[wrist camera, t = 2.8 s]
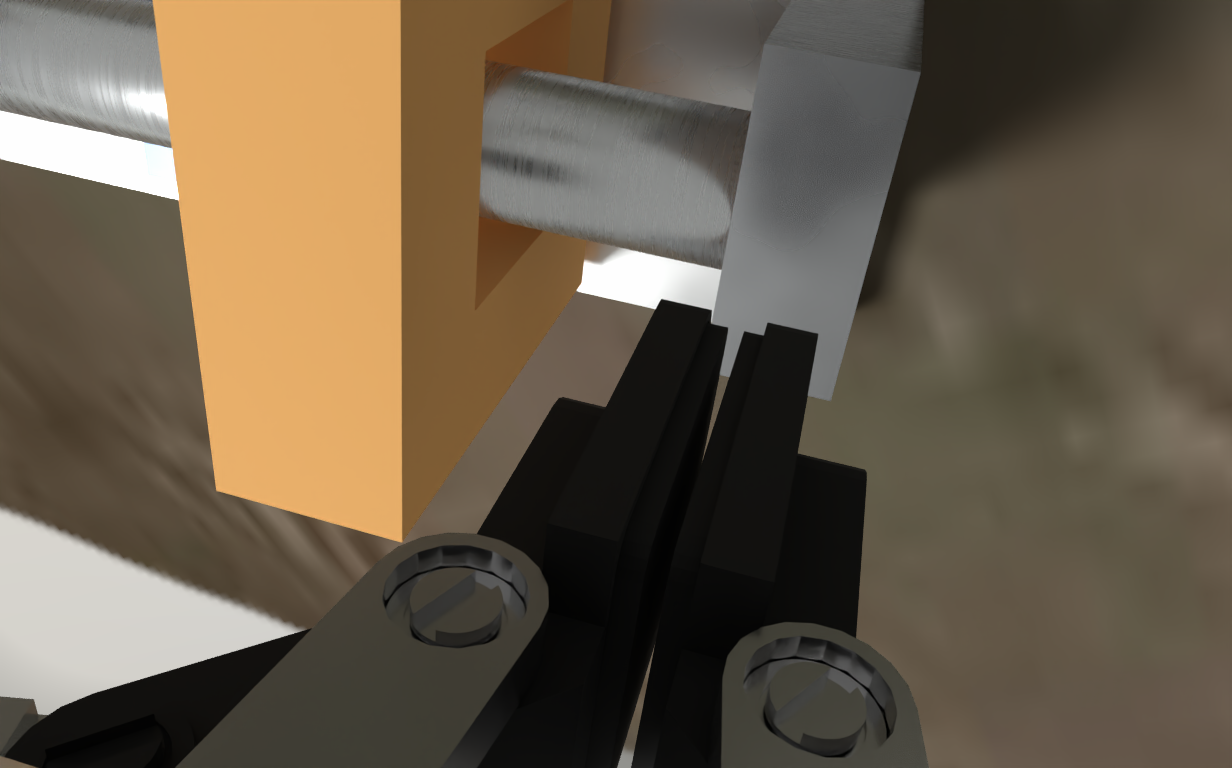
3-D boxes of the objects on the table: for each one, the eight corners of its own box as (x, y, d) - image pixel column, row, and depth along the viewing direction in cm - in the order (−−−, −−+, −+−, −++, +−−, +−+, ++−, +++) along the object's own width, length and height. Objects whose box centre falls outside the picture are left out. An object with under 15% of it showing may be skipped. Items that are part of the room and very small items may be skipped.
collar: (631, -188, 17) (400, -156, 10) (582, 282, 22) (401, 542, 15) (466, -212, 18) (126, -200, 10) (453, 253, 23) (216, 490, 15)
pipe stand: (965, -180, 18) (983, -150, 11) (834, 317, 23) (794, 531, 17) (-57, -324, 21) (-497, -366, 15) (37, 139, 26) (-254, 258, 20)
